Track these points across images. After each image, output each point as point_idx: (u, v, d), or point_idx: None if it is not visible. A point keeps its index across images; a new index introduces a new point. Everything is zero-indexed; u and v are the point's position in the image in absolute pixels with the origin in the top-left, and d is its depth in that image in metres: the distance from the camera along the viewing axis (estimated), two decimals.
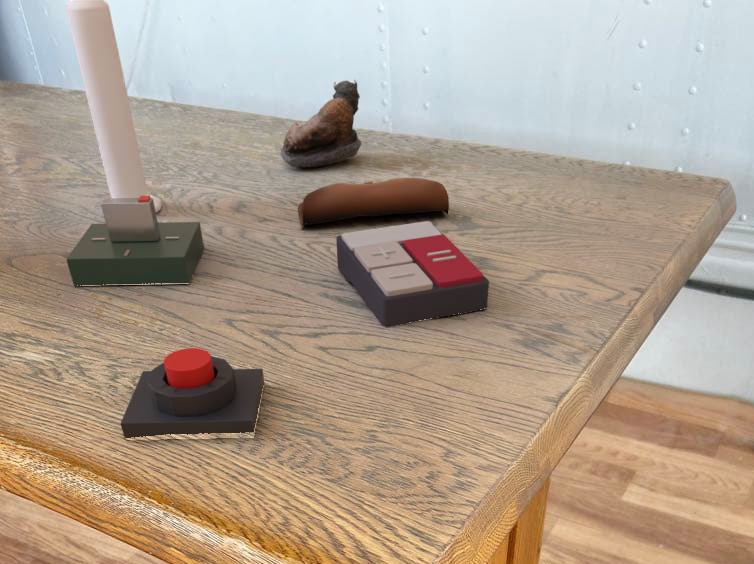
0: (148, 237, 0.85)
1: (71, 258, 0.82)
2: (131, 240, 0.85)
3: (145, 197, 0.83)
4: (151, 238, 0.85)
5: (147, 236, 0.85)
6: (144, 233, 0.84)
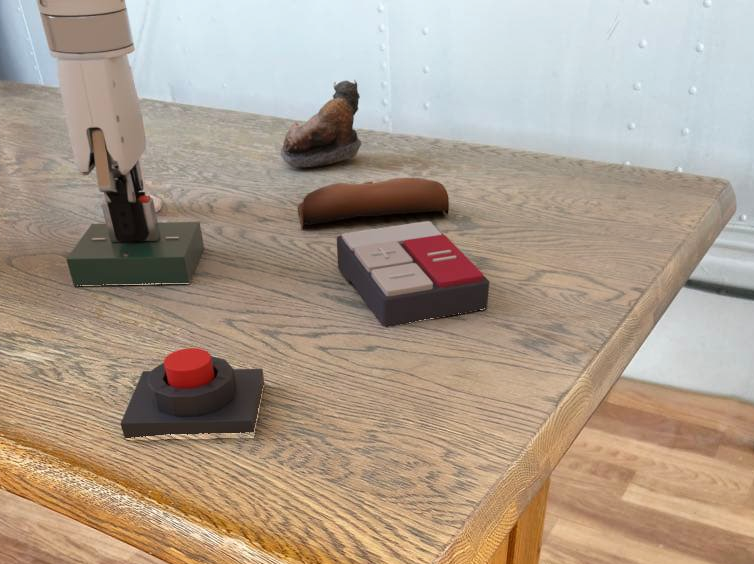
0: (148, 237, 0.85)
1: (71, 258, 0.82)
2: None
3: (145, 197, 0.83)
4: (151, 238, 0.85)
5: (147, 236, 0.85)
6: None
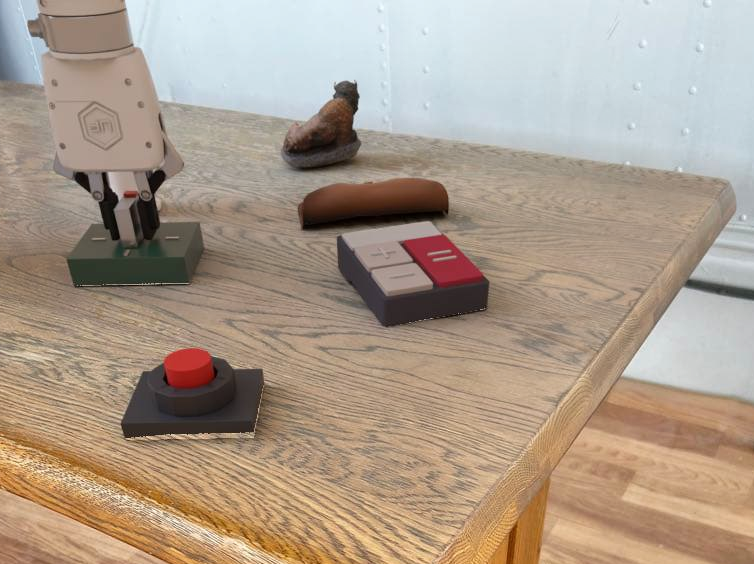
0: None
1: (71, 258, 0.82)
2: (142, 238, 0.85)
3: (131, 191, 0.84)
4: None
5: None
6: None
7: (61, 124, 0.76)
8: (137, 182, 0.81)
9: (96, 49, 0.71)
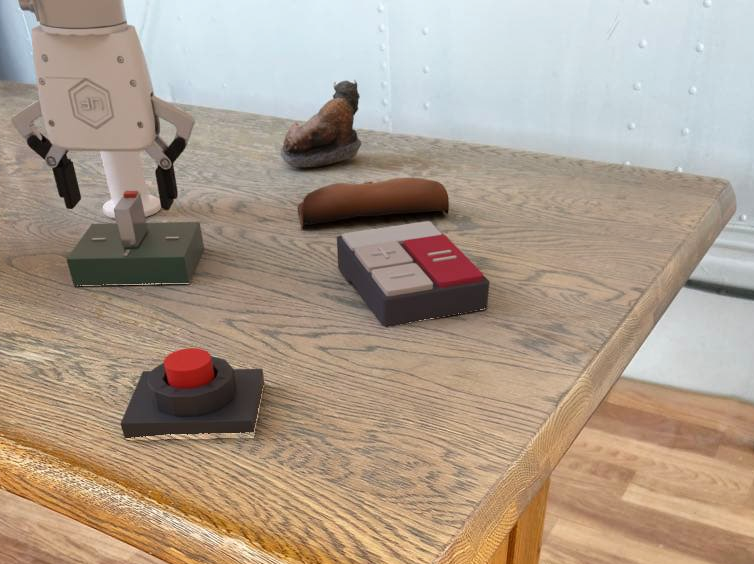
0: (145, 229, 0.87)
1: (71, 258, 0.82)
2: (142, 238, 0.85)
3: (131, 191, 0.84)
4: (146, 228, 0.87)
5: (145, 228, 0.86)
6: (144, 226, 0.86)
7: (51, 101, 0.74)
8: (151, 155, 0.79)
9: (88, 25, 0.70)
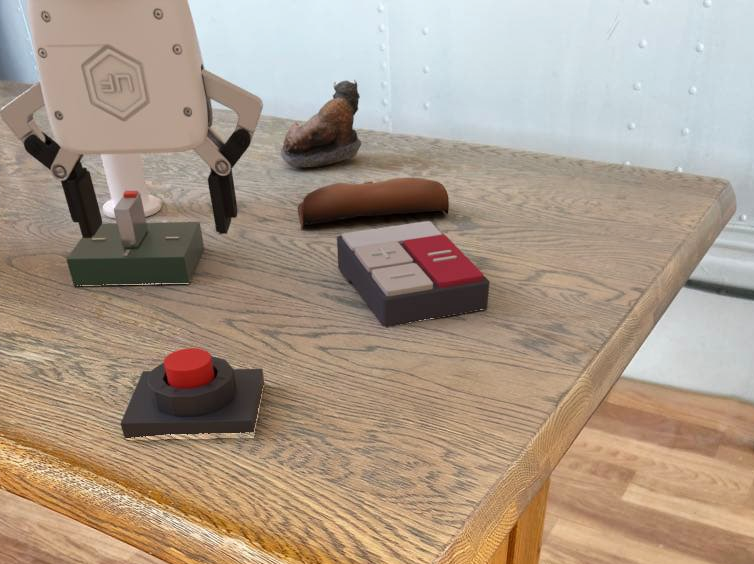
0: (145, 229, 0.87)
1: (71, 258, 0.82)
2: (142, 238, 0.85)
3: (131, 191, 0.84)
4: (146, 228, 0.87)
5: (145, 228, 0.86)
6: (144, 226, 0.86)
7: (56, 81, 0.50)
8: (203, 156, 0.55)
9: None
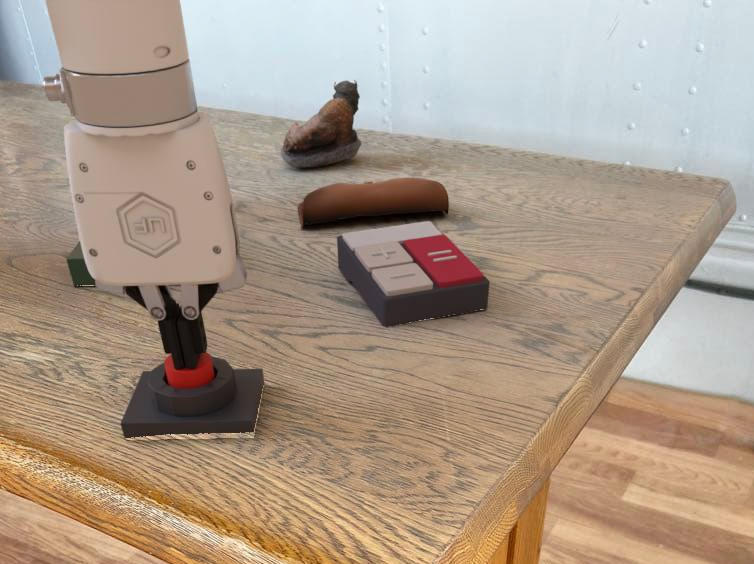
0: None
1: (71, 258, 0.82)
2: None
3: None
4: None
5: None
6: None
7: (92, 223, 0.52)
8: (183, 295, 0.57)
9: (147, 121, 0.48)
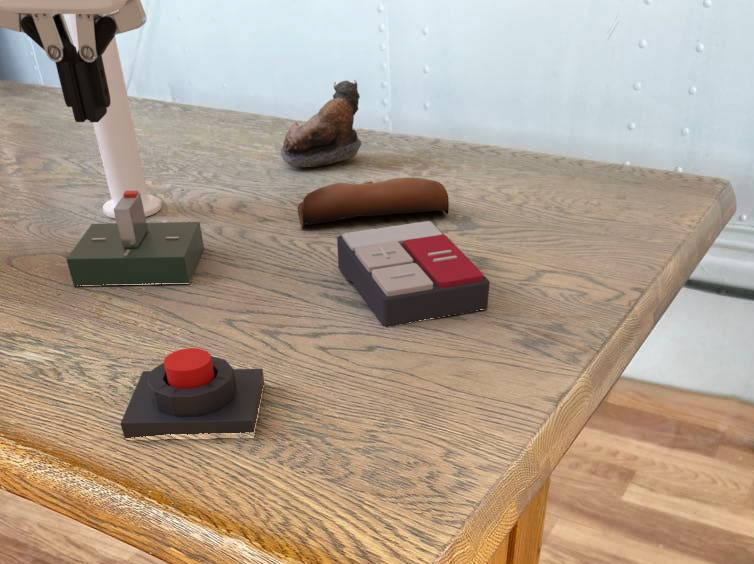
0: (145, 229, 0.87)
1: (71, 258, 0.82)
2: (142, 238, 0.85)
3: (131, 191, 0.84)
4: (146, 228, 0.87)
5: (145, 228, 0.86)
6: (144, 226, 0.86)
7: None
8: (79, 31, 0.57)
9: None
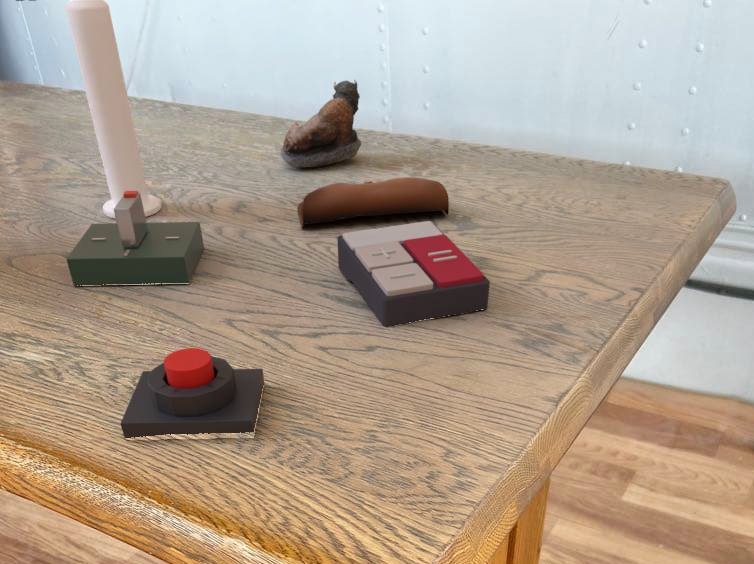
0: (145, 229, 0.87)
1: (71, 258, 0.82)
2: (142, 238, 0.85)
3: (131, 191, 0.84)
4: (146, 228, 0.87)
5: (145, 228, 0.86)
6: (144, 226, 0.86)
7: None
8: None
9: None
